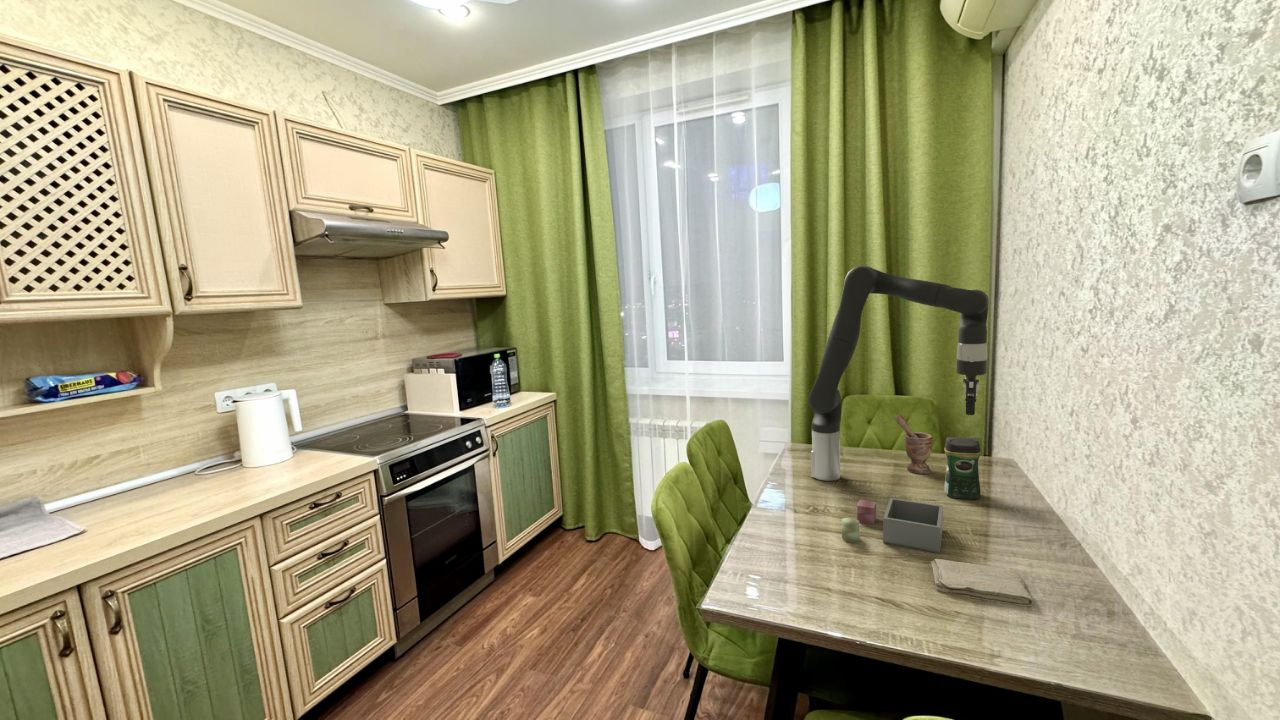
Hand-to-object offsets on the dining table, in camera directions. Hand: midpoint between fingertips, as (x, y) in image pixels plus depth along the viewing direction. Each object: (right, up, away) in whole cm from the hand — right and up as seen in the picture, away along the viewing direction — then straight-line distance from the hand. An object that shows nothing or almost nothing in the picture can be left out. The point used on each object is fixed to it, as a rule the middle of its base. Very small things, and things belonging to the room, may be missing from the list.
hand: (969, 411), depth 153 cm
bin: (-25, -32, -15) cm, 44 cm away
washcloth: (-23, -36, -38) cm, 57 cm away
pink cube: (-33, -31, -4) cm, 46 cm away
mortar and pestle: (-1, -24, +29) cm, 38 cm away
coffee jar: (+2, -27, +7) cm, 28 cm away
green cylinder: (-42, -33, -14) cm, 55 cm away
